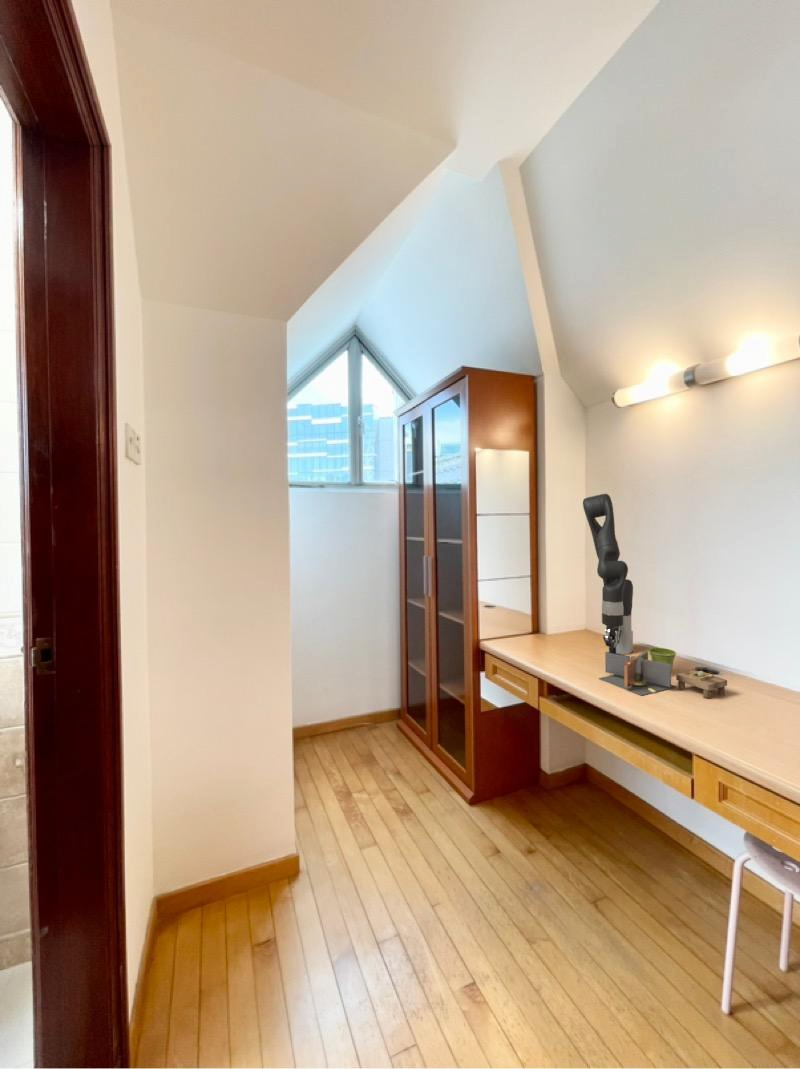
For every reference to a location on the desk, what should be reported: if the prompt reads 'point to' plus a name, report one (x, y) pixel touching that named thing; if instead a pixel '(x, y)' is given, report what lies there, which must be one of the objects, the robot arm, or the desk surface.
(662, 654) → the plant pot
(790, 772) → the desk surface
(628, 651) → the robot arm
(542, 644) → the desk surface
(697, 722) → the desk surface
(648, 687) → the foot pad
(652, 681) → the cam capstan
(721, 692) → the level stand
